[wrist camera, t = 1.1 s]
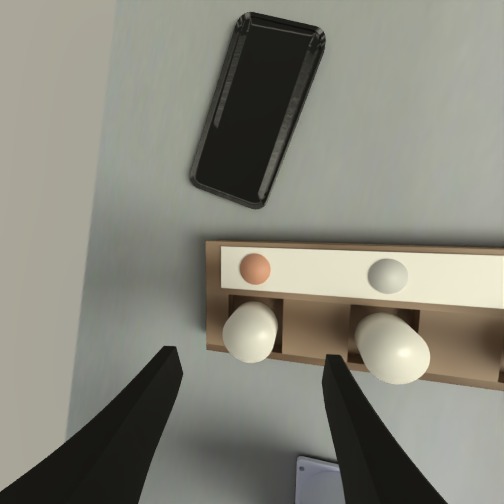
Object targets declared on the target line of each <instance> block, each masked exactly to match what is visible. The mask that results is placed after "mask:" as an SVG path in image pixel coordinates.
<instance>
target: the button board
mask: <svg viewBox="0 0 504 504" xmlns="http://www.w3.org/2000/svg"><path fill="white" fill-rule="evenodd" d="M221 246H229V247H259V248H289V249H319V250H349V251H380V252H410V253H440V254H470V255H501V256H504V247H468V246H431V245H393V244H356V243H318V242H281V241H243V240H211V241H206V347H207V350H212V351H219V352H226V353H229V351H228V350H227V348H226V347H225V344H224V341H223V335H222V334H223V328H224V325H225V323H226V321H227V320H228V319H229V318H230V316H231V315H232V314H233V313H234V312H235V310H236V309H237V308H238V307H239V306H240V305H242V304H244V303H246V302H251V301H255V302H260V303H263V304H265V305H266V306H268V307H269V308H270V309H271V310H272V311H273V312H274V314H275V316H276V318H277V322H278V330H277V334H276V338H275V342H274V345H273V349H272V351H271V353H270V354H269V355H268V356H267V357H266V358H269V359H276V360H284V361H291V362H298V363H305V364H312V365H319V366H324V365H325V359H326V354H336V355H341V356H342V358H343V359H344V361H345V363H346V365H347V367H348V369H349V370H355V371H363V372H370V371H369V370H368V369H367V367H366V366H365V363H364V361H363V359H362V357H361V354H360V352H359V350H358V348H357V346H356V343H355V330H356V327H357V325H358V324H359V322H360V321H361V320H362V319H363V318H365V317H366V316H368V315H370V314H373V313H380V312H383V313H390V314H393V315H396V316H398V317H399V318H401V319H402V320H403V321H404V322H405V323H407V324H408V325H409V326H410V327H411V328H412V329H413V330H414V331H415V332H416V333H417V334H418V335H420V336H421V337H422V338H423V340H424V341H425V342H426V344H427V346H428V348H429V352H430V363H429V366H428V368H427V370H426V372H425V373H424V374H423V375H422V376H421V377H420V378H418V379H420V380H427V381H434V382H441V383H449V384H456V385H463V386H470V387H477V388H485V389H492V390H499V391H504V309H499V308H485V307H472V306H459V305H445V304H432V303H419V302H405V301H392V300H378V299H365V298H352V297H338V296H325V295H312V294H298V293H285V292H272V291H258V290H245V289H231V288H221Z"/></svg>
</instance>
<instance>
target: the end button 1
mask: <svg viewBox="0 0 504 504" xmlns="http://www.w3.org/2000/svg"><path fill="white" fill-rule="evenodd" d="M277 330H278V322H277V318H276V316H275V314H274V312H273V311H272V310H271V309H270V308H269V307H268V306H266V305H265V304H263V303H260V302H255V301H251V302H246V303H244V304H242V305H240V306H239V307H238V308H237V309H236V310H235V312H234V313H233V314H232V315H231V316H230V318H229V319H228V320H227V321H226V323H225V325H224V328H223V334H222V335H223V341H224V344H225V347H226V348H227V350H228V351H229V353H230V354H231V355H232V356H234V357H235V358H236V359H238V360H240V361H243V362H247V363H255V362H259V361H262V360H263V359H265V358H266V357H267V356H268V355H269V354H270V353H271V351H272V349H273V345H274V342H275V338H276V334H277Z"/></svg>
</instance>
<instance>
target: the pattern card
mask: <svg viewBox="0 0 504 504" xmlns="http://www.w3.org/2000/svg"><path fill="white" fill-rule="evenodd" d="M221 288H231V289H245V290H258V291H272V292H285V293H298V294H312V295H325V296H338V297H352V298H365V299H378V300H392V301H405V302H419V303H432V304H445V305H459V306H472V307H485V308H499V309H504V256H501V255H470V254H440V253H410V252H380V251H349V250H319V249H289V248H259V247H229V246H221Z"/></svg>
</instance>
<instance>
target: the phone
mask: <svg viewBox="0 0 504 504" xmlns="http://www.w3.org/2000/svg"><path fill="white" fill-rule="evenodd" d="M325 42H326V38H325V34H324V31H323V30H322V29H321V28H319V27H317V26H313V25H308V24H304V23H299V22H295V21H291V20H286V19H282V18H277V17H273V16H268V15H264V14H259V13H255V12H247V13H245V14H243V15H242V16H241V17H240V18H239V19H238V21H237V23H236V26H235V29H234V32H233V36H232V39H231V42H230V45H229V49H228V52H227V55H226V58H225V62H224V65H223V68H222V71H221V75H220V78H219V81H218V84H217V88H216V91H215V94H214V97H213V101H212V104H211V107H210V110H209V114H208V117H207V120H206V123H205V127H204V130H203V133H202V136H201V140H200V143H199V146H198V149H197V153H196V156H195V159H194V162H193V166H192V169H191V172H190V180H191V182H192V184H193V185H194V186H195V187H197V188H199V189H202V190H204V191H207V192H210V193H212V194H215V195H217V196H220V197H223V198H225V199H228V200H231V201H233V202H236V203H239V204H241V205H244V206H246V207H249V208H252V209H260V208H262V207H264V206H265V205H266V203H267V202H268V199H269V197H270V194H271V191H272V189H273V186H274V183H275V181H276V178H277V175H278V173H279V170H280V167H281V165H282V162H283V159H284V157H285V154H286V151H287V149H288V146H289V143H290V141H291V138H292V136H293V133H294V130H295V128H296V125H297V122H298V120H299V117H300V114H301V112H302V109H303V106H304V104H305V101H306V98H307V96H308V93H309V90H310V88H311V85H312V82H313V80H314V77H315V74H316V72H317V69H318V66H319V64H320V61H321V58H322V56H323V53H324V49H325Z"/></svg>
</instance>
